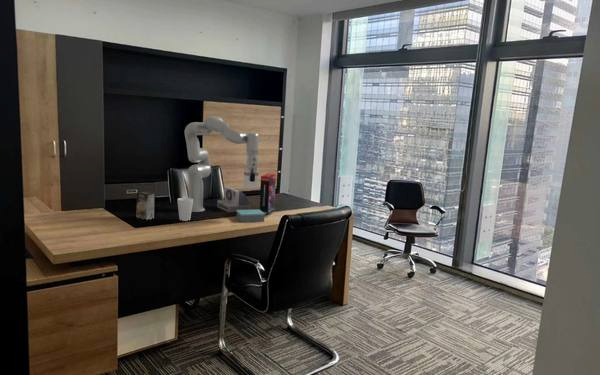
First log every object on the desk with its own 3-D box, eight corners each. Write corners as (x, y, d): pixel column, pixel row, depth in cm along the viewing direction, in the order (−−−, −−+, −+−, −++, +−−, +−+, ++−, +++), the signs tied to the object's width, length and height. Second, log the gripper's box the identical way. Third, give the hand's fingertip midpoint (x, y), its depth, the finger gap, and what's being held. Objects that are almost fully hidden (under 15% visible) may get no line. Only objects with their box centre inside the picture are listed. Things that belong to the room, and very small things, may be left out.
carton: (257, 188, 281) (258, 169, 279) (245, 188, 278) (246, 169, 276) (255, 186, 286) (256, 168, 284) (243, 186, 283) (244, 168, 281)
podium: (240, 222, 276) (241, 214, 275) (235, 217, 288) (236, 209, 287) (265, 221, 283) (265, 213, 282) (258, 217, 294) (259, 209, 294)
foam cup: (195, 219, 277) (195, 199, 275) (187, 222, 268) (188, 201, 266) (181, 217, 279) (182, 197, 277) (174, 220, 271) (174, 199, 268)
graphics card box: (268, 216, 298) (270, 176, 294) (258, 215, 300) (260, 175, 295) (274, 211, 315) (276, 174, 311) (265, 210, 316) (267, 173, 312)
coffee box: (135, 217, 270) (135, 192, 267) (143, 216, 276) (143, 191, 273) (147, 220, 266) (147, 194, 264) (154, 218, 272) (154, 192, 269)
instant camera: (215, 206, 319) (216, 186, 317) (242, 205, 329) (243, 185, 326) (224, 212, 301) (225, 191, 298) (252, 211, 310) (253, 190, 308)
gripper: (261, 154, 272) (260, 182, 275) (254, 151, 288) (253, 178, 290) (249, 153, 269) (248, 182, 272) (243, 151, 285) (241, 178, 288)
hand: (250, 180), depth 281 cm, fingers closed on carton, 5 cm apart
